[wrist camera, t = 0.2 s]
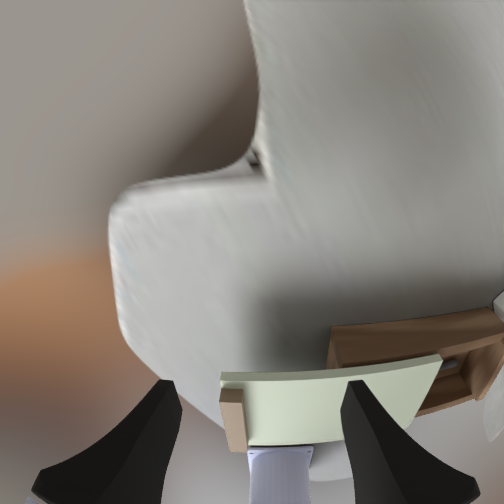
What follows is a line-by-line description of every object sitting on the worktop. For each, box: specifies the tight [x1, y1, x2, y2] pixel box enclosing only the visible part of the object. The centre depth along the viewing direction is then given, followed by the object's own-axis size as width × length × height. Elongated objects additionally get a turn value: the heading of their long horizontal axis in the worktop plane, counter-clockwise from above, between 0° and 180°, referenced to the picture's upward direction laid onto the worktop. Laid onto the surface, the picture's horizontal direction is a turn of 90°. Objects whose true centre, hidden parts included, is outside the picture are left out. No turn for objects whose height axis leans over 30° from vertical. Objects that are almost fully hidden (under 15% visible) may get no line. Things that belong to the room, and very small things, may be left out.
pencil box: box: [325, 307, 504, 417], centre depth 20 cm, size 9×17×5 cm, turn 92°
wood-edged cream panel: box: [219, 354, 443, 452], centre depth 17 cm, size 9×16×2 cm, turn 92°
